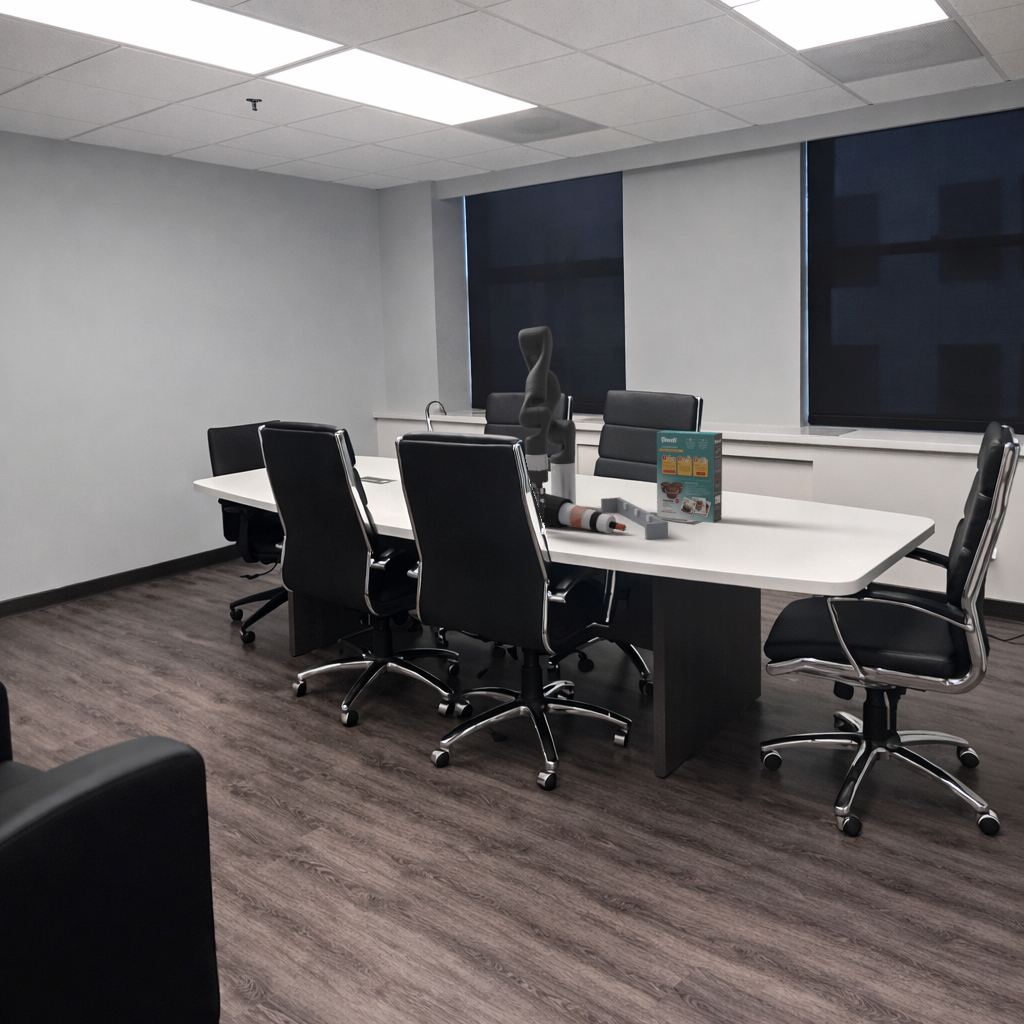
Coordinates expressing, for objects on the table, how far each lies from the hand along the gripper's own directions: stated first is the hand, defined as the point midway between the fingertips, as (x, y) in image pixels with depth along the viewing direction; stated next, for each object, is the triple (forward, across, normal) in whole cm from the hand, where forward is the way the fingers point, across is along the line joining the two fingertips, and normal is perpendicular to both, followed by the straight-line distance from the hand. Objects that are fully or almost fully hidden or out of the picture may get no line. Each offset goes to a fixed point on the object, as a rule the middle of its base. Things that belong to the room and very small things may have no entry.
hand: (537, 516), depth 306 cm
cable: (+6, 0, +15) cm, 16 cm away
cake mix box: (+6, -5, +55) cm, 56 cm away
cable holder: (+5, -2, +33) cm, 34 cm away
